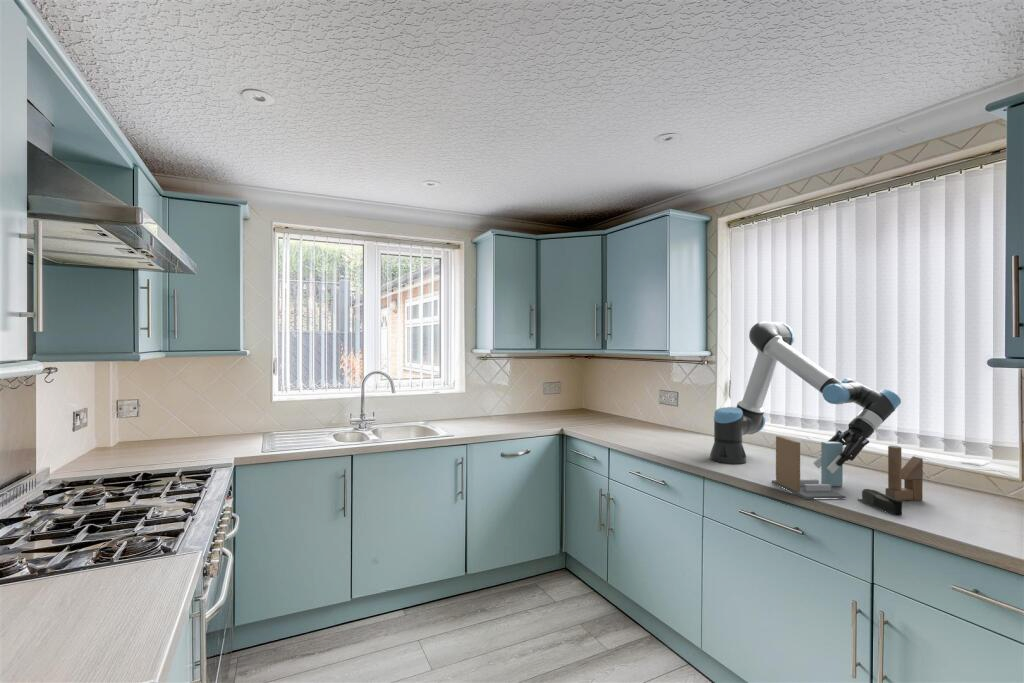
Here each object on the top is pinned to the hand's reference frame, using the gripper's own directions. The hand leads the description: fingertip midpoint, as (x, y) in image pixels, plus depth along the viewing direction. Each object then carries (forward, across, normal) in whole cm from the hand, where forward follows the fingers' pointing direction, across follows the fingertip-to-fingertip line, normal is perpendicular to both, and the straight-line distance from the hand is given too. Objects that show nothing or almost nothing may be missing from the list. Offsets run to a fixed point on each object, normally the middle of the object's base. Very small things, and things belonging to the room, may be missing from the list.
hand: (822, 468), depth 184 cm
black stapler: (+4, -25, -6) cm, 26 cm away
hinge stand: (+12, -6, +2) cm, 13 cm away
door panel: (+2, 0, -7) cm, 7 cm away
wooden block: (-7, -17, -16) cm, 25 cm away
